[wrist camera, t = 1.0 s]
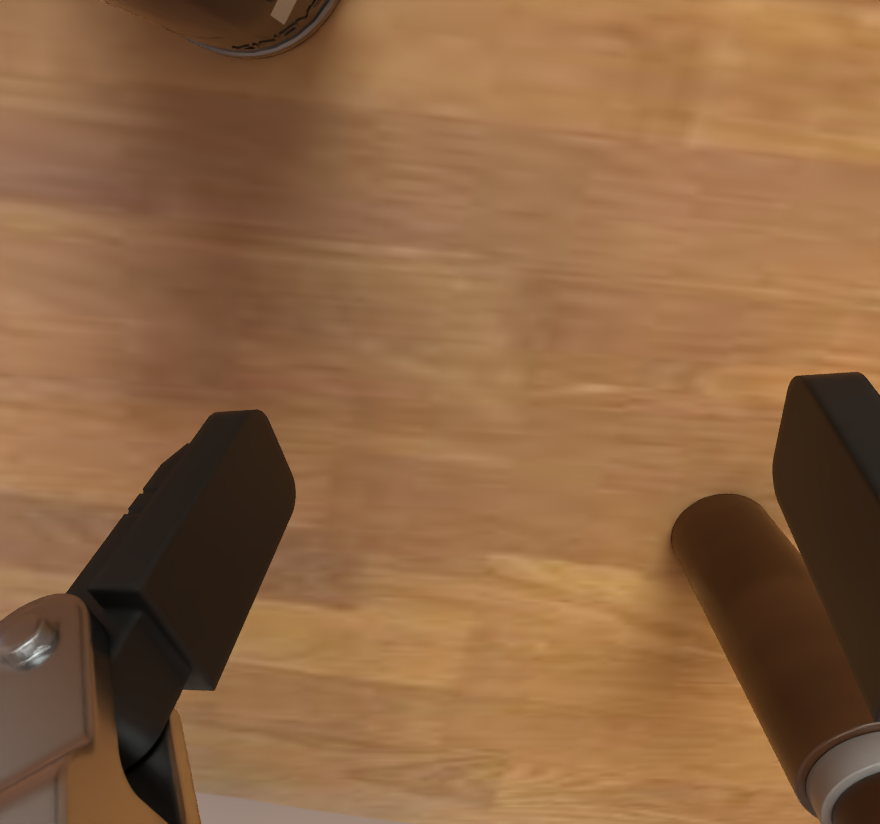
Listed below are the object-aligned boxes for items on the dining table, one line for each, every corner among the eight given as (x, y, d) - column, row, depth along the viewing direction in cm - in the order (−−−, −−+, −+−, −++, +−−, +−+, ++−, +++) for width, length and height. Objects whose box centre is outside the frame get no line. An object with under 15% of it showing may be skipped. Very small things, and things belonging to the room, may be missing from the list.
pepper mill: (657, 515, 32) (854, 900, 15) (754, 478, 31) (1080, 853, 14) (688, 585, 34) (896, 1002, 17) (781, 553, 33) (1102, 967, 16)
